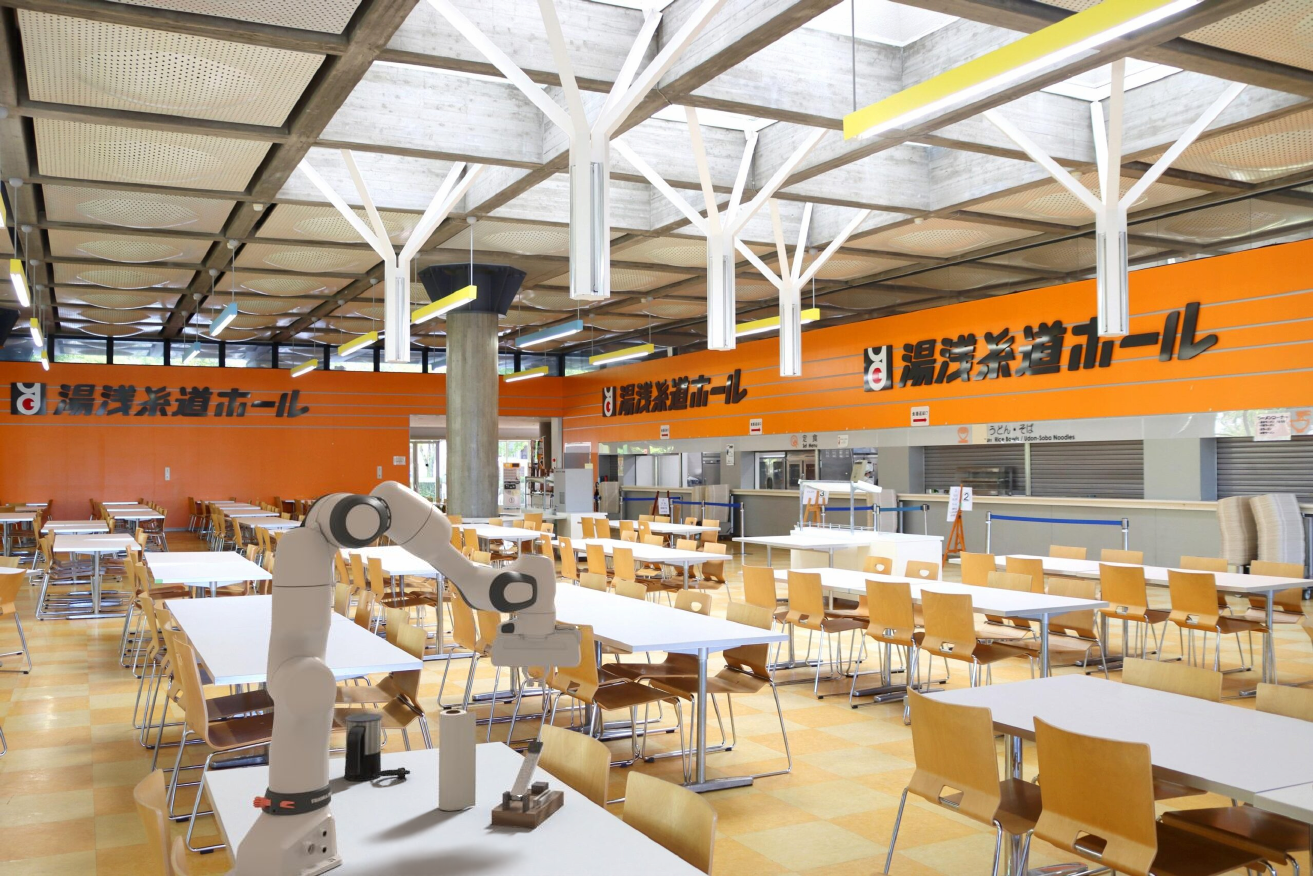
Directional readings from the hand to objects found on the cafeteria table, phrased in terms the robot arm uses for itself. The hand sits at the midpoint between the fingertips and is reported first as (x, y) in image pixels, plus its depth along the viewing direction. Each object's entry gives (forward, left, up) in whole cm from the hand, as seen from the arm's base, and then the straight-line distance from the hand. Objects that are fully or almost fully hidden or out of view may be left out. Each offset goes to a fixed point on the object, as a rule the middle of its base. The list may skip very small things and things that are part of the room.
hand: (536, 686), depth 229 cm
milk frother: (+13, +48, -27) cm, 57 cm away
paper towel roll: (-4, +18, -27) cm, 33 cm away
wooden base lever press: (-4, 0, -27) cm, 27 cm away
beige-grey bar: (-5, 0, -18) cm, 19 cm away
